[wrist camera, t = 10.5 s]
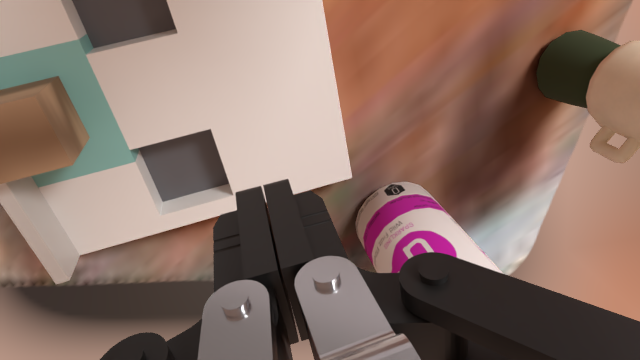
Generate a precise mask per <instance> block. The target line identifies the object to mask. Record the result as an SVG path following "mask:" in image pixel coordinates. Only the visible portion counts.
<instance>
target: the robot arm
mask: <svg viewBox="0 0 640 360" xmlns="http://www.w3.org/2000/svg"><path fill="white" fill-rule="evenodd" d="M263 187H264V192H265V196H266V201H267V204H266V201H265V197H264V194H263V190H262V187H261V186H258V187H254V188H250V189H246V190H242V191H238V192H236V193H235V195H236V205H237V210H236V211H232V212H228V213H225V214H221V215H220V217H219V219H218V220H217V222H216V224H215V226H214V227H213V240H214V293H213V294H212V296H211V297H210V298H209V299H208V301H207V302H206V304H205V307H204V310H203V317H202V319H201V320H200V321H199V322H197V323H196V324H195V325H194V326H192V327H191V328H189V329H188V330H186V331H184V332H182V333H181V334H179V335H177V336H176V337H174V338H172V339H170V340H168V341H167V342H166V341H165V339H164V338H162V337H161V336H160V335H158V334H155V333H139V334H136V335H133V336H130V337H128V338H126V339H124V340H122V341H121V342H119V343H118V344H116V345H115V346H113V347H112V348H111V349H110V350H109V351H108V352H107V353H106V354H105V355H104V356H103V357H102V358H101V359H100V360H293V359H292V353H291V348H290V344H294V343H297V342H298V341H299V340H298V335H297V331H296V326H295V322H294V317H293V313H294V316H295V319H296V323H297V326H298V330H299V333H300V337H301V340H302V341H303V340H306V339H309V341H310V345H311V348H312V352H313V356H314V359H315V360H640V322H639V321H636V320H634V319H631V318H628V317H625V316H622V315H619V314H617V313H614V312H611V311H608V310H605V309H602V308H599V307H596V306H594V305H591V304H588V303H585V302H582V301H579V300H577V299H574V298H571V297H568V296H565V295H562V294H559V293H557V292H554V291H551V290H548V289H545V288H542V287H539V286H537V285H534V284H531V283H528V282H525V281H522V280H519V279H517V278H513V277H510V276H508V275H505V274H502V273H499V272H497V271H494V270H491V269H488V268H485V267H482V266H479V265H477V264H474V263H471V262H468V261H465V260H462V259H459V258H457V257H454V256H451V255H448V254H444V253H438V252H427V253H421V254H418V255H415V256H413V257H411V258H410V259H408V260H407V261H406V262H405V263H404V264H403V265H402V267H401V269H400V272H399V273H374V272H369V271H365V270H362V269H360V268H358V267H356V266H355V264H353V263H352V262H351V261H350V260H349V259H348V257H347V255H346V253H345V250H344V248H343V246H342V243H341V241H340V239H339V236H338V234H337V232H336V229H335V227H334V225H333V222H332V221H331V218H330V215H329V213H328V212H327V208H326V206H325V204H324V201H323V199H322V198H321V197H319V196H318V195H316V194H315V193H313V192H312V191H308V192H304V193H300V194H296V195H293V192H292V189H291V186H290V183H289V180H288V179H284V180H281V181H277V182H273V183H269V184H265V185H263ZM267 206H268V208H267ZM290 302H291V303H290ZM291 306H292V308H291ZM292 309H293V313H292Z"/></svg>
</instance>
